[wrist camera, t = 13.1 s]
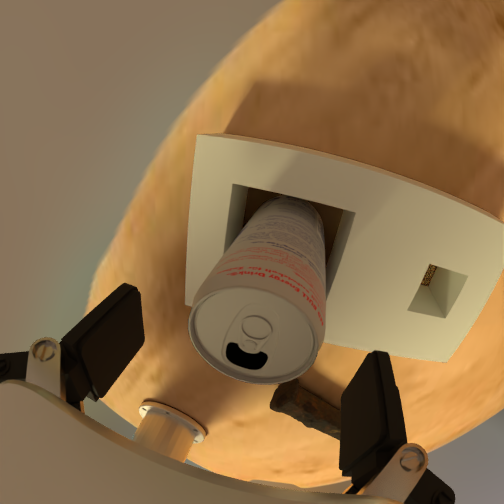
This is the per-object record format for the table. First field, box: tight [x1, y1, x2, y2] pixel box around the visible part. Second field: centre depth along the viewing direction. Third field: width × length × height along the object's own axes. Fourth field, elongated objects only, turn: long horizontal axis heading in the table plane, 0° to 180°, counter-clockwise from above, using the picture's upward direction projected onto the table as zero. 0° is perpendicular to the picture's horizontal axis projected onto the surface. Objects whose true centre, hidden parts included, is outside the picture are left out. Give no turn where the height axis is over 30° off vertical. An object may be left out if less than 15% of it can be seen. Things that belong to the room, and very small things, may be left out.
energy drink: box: [188, 195, 326, 385], centre depth 15 cm, size 5×5×12 cm
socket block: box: [185, 133, 504, 363], centre depth 17 cm, size 12×22×4 cm, turn 81°
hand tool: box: [270, 378, 341, 440], centre depth 27 cm, size 19×4×5 cm, turn 50°
